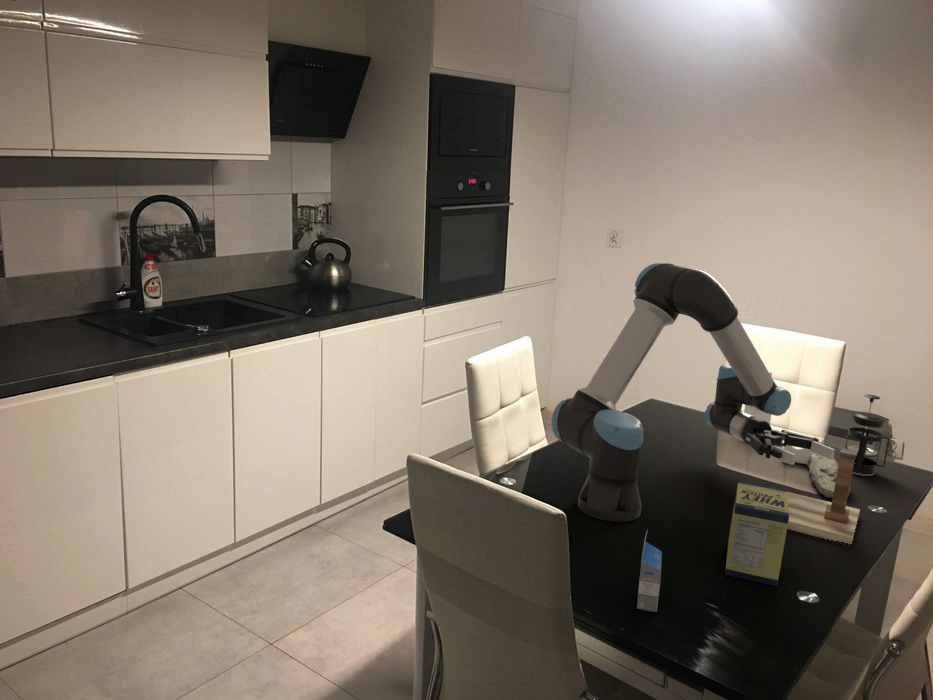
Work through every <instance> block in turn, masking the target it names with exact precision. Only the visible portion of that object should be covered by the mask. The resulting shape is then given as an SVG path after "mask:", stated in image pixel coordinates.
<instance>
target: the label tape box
mask: <svg viewBox="0 0 933 700" xmlns="http://www.w3.org/2000/svg"><path fill="white" fill-rule="evenodd" d="M648 531H649V530H648V529H647V530H646V532H645V537H644V541H643V546H642V552H641V557H640V558H641V559H640V561H641V562H640V570H639V571H640V572H639V582H638V591H637V603H636V609H639V610H642V611H647V612H654V613H655V612H656V613H657V612H658V605H659V603H658V602H659V597H660V596H659V595H660V588H661V579H662V578H661V576H662V565H663V564H662V561H663V551H662V550H661V549H659V548H657V547H655V546H653V544H650V543H649V542H647V541H646V539H647V535H648Z"/></svg>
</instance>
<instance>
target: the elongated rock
mask: <svg viewBox="0 0 933 700" xmlns="http://www.w3.org/2000/svg"><path fill="white" fill-rule="evenodd" d="M806 466H807V468H808V469H809V470H808V471H809V474H808V475H810V479H811V482H813V484H814V486H815V487H816V491H817V490H818V491H817V492H819V493H820V494H822V495H823V496H824V497H826V498H828V499H829V498H830V499H833V494H834V488H835V483H836V478H837V472H838V467H839V462H838V461H837V460H836V459H835V456H834V457H833V460H830V459H828V458H826V457H823V456H821V455H819V454H816V453H814V452H812V453H810V455H809V461H808V463H807V464H806ZM851 480H853V475H852V476H851ZM851 491H852V485H850V487H849V492H848V497H849V496H850V492H851Z"/></svg>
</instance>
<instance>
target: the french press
mask: <svg viewBox="0 0 933 700" xmlns="http://www.w3.org/2000/svg"><path fill="white" fill-rule="evenodd" d="M863 396H864V397H865V398H867V399H869V403H870V404H869V408H868V412H867V411H852V412H851V416H852V418H853V420H854V422H855V423H856V425H859V426H862V427H859V426H854V427H852V426H851V427H849V428H848V432H847V436H846V440H845V441H846V442H845V447H844V449H848V450H853V451H857V455H856V458H855V461H854V466H853V471H852V472H856V473H861V474H872V473H875V472H876V473H877V467H879V468H884V467H885V465H886V460H887V454H888V449H889V444H890V439H891V438H890V436H885V435H883V434H882V432H880V431H877V430H873V429H871V428H877V429H878V428H879V429H880V428H882V427H883V426H884V422H886V417H885V416H882V415H880V414H876V413H873V412H871V410H872V404H873V403H874V401H875V400H881V397H880V396H877V395H874V394H864V395H863ZM855 432H856V433H855ZM858 432H859V433H861V434H858ZM869 435H872V436H869ZM849 436H850V437H852V438H854V439H857V440H859V445H854V444H853V445H848V440H849ZM883 439H886V440H887V444H886V447H885V448H886V449H885V453H884V460H883V464H882V463H879V462H878V461H879V457H880V451H881V445H882V442H883V441H882V440H883ZM868 442H872V443H873V442H874V443H877V442H879V447H878V451H876V450H874V449H872V448H869V447H867V445H868ZM875 457H877V458H876V461H875V460H874V459H871V458H875ZM855 463H856V464H855ZM865 465H866V466H865Z"/></svg>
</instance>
